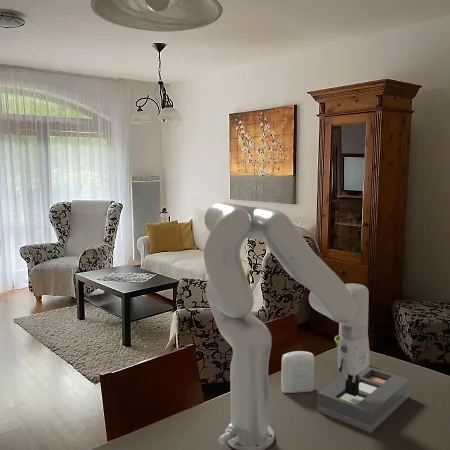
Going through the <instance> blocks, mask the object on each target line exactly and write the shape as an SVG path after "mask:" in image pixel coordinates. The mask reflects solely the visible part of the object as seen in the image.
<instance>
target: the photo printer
mask: <svg viewBox="0 0 450 450" xmlns="http://www.w3.org/2000/svg"><path fill="white" fill-rule="evenodd" d="M280 371H281V379H280V381H281V382H280V390H281V392H282V393H285V394H291V393H292V394H293V393H306V392H308V393H309V392H314V389H315V387H314V385H315V356H314V354H313V353H312V352H309V351H306V350H305V351H303V350H302V351H301V350H296V351H290V352H287V353H284V354H282V355H281V370H280Z"/></svg>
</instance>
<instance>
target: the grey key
mask: <svg viewBox="0 0 450 450" xmlns="http://www.w3.org/2000/svg"><path fill="white" fill-rule="evenodd" d="M376 389H377V387H374V386H371V385H368V384H365V383H362V382H360V383H359V390H361V391H364V392H367V393H370V394H371V393H372V392H373V391H374V390H376Z"/></svg>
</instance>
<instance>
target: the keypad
mask: <svg viewBox="0 0 450 450" xmlns="http://www.w3.org/2000/svg"><path fill="white" fill-rule="evenodd" d="M372 376H373V377H377V378H380V379H383V380H386V381H385V382H384V383H383V384H382V383H379V382H376V381H373V380H370V379H369V378H371V377H372ZM358 381H359V383H360V382H362V383H365V384H368V385H371V386H374V387H377V389H376V390H374V391H373V392H372V393H371V394H370V393H367V392H364V391H361V390H359V394H358V395H357V396H360V397H363V398H364V399H363V400H362V401H361V402H360V403H358V404H357V405H356V404H353V403H350V402H348V401H345V400H342V399H340V397H341V396H342V395H344V394H345V393H346V392H345V385H346V380H344V379H341V376H340V377H338V378H336V379H335V380H334V381H333V382H331V383H330V384H328V385H326V386H325V387H324V388H322V389H321V390H319V391H318V392H317V393H316V397H317V398H316V399H317V400H316V403H317V405H316V411H317V412H319V413H321V414H322V415H323V414H324V415H326V416H328V417H330V418H333V419H335V420H338V421H340V422H343V423H345V424H348V425H349V426H353V427H355V428H357V429H360V430H362V431H365V432H368V433H370V434H372V433H373V432H374V431H375V430H376V429H377V428H378V427H380V425H381V424H383V422H384V421H385V420H386V419H388V417H389V416H391V414H393V412H395V411H396V410H397V409H398V408H399V407H400V406H401V405H402V404H403V403H404V402H405V401H406V400H407V399H409V397H410V383H411V382H410V379H409V378H407V377H403V376H400V375H397V374H393V373H389V372H387V371H383V370H380V369H376V368H373V367H371V366H368V367H367V368H366V369H364V370H363V371H362V372H360V379H359V380H358Z"/></svg>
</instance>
